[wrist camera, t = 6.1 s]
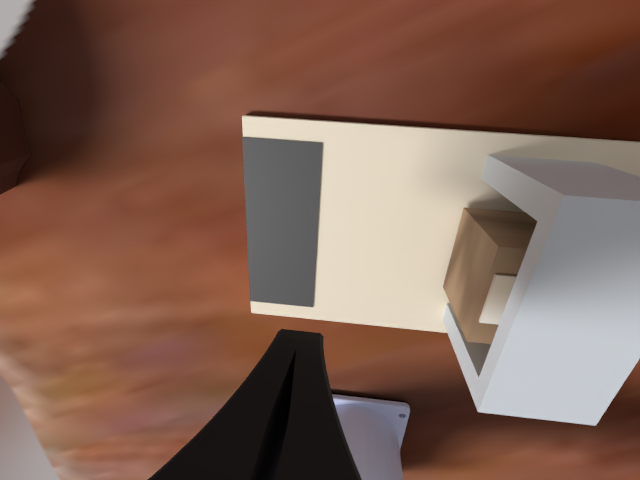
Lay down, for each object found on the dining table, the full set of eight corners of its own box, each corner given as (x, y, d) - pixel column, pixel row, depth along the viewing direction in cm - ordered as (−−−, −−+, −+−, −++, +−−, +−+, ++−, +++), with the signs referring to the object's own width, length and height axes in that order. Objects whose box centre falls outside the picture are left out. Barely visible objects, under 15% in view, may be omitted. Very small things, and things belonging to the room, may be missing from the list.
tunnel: (710, 354, 20) (866, 473, 14) (253, 308, 22) (214, 396, 16) (862, 156, 15) (1222, 209, 9) (245, 115, 16) (181, 134, 10)
